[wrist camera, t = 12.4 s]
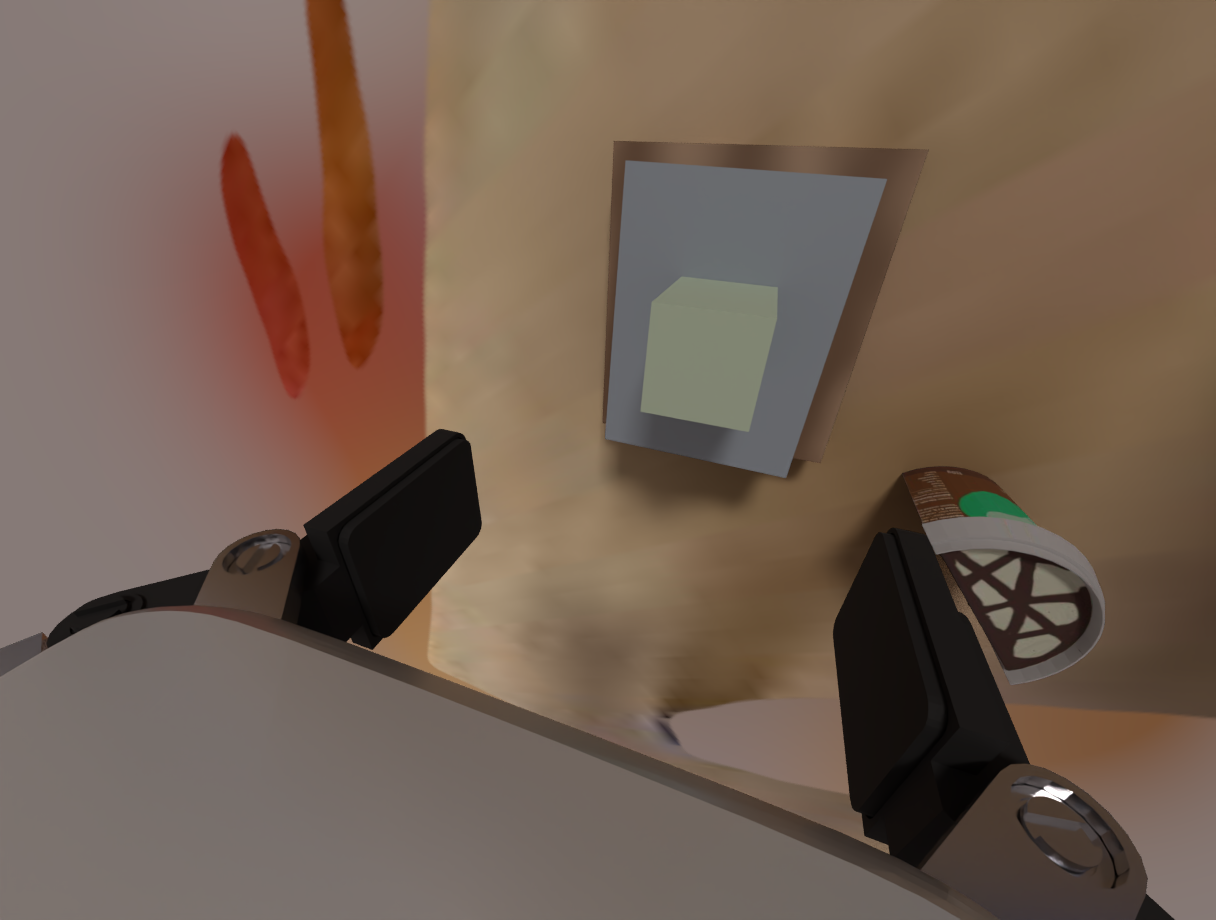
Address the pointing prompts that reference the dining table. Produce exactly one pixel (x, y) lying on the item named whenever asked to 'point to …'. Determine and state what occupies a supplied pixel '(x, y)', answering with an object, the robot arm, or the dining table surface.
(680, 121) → the dining table surface
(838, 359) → the base block
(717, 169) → the top block
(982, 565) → the food container
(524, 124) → the dining table surface
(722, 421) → the sage block
